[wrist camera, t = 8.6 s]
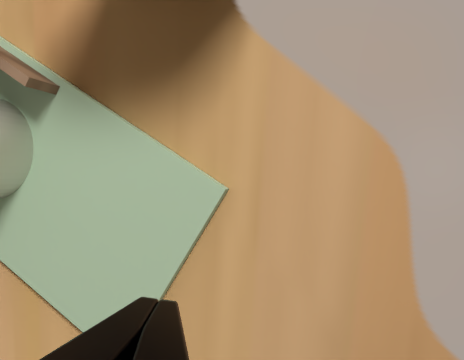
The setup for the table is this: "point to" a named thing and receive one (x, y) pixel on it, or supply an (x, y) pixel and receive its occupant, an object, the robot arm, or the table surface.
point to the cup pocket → (25, 73)
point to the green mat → (97, 204)
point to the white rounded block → (14, 148)
